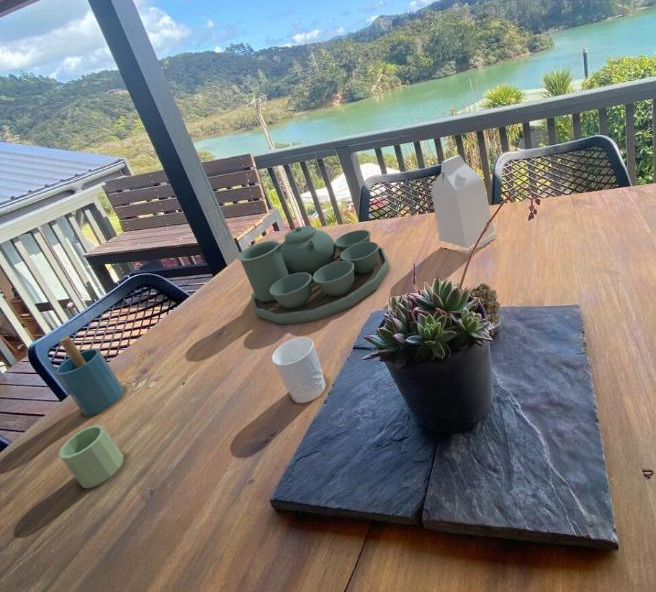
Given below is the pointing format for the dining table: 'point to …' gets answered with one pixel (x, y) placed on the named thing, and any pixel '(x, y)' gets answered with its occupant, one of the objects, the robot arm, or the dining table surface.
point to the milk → (461, 205)
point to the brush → (72, 351)
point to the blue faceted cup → (90, 382)
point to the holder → (91, 456)
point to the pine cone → (487, 301)
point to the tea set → (312, 274)
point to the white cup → (299, 369)
